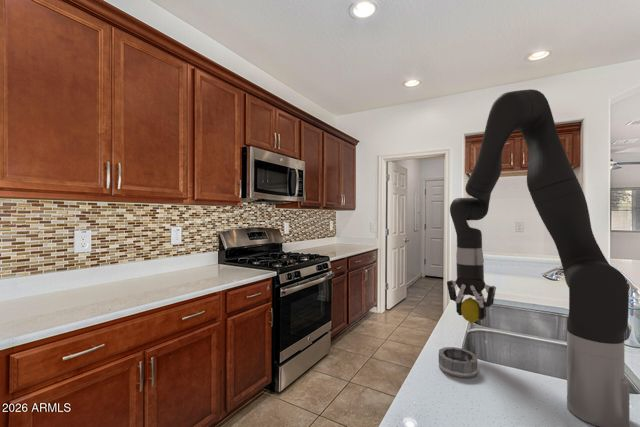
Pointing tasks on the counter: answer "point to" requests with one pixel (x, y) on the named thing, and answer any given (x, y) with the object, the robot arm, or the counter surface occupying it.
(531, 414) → the counter surface
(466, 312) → the lemon
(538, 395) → the counter surface
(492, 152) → the robot arm
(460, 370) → the holder
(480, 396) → the counter surface
